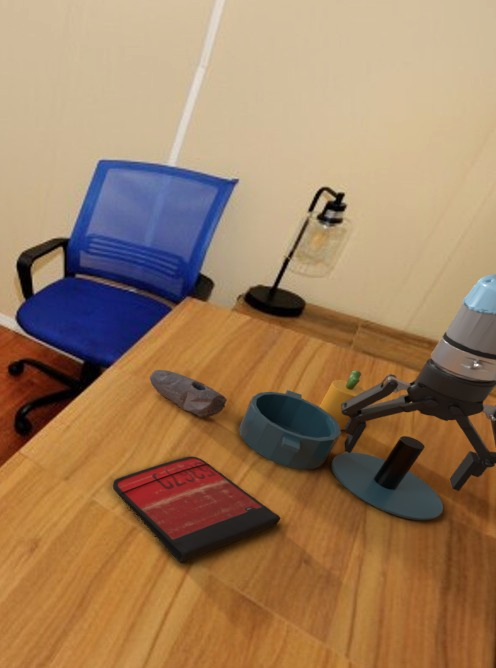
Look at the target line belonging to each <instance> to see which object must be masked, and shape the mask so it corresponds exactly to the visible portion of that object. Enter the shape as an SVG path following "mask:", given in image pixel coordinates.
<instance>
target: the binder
mask: <svg viewBox="0 0 496 668" xmlns="http://www.w3.org/2000/svg"><path fill="white" fill-rule="evenodd" d="M112 488H113V490H114V491H115V493H116V494H117V495H118V496H119V498H121V499H122V500H123V501H124V503H125V504H126V505H127V506H128V507H129V508H130V509H131V510H132V512H133V513H135V514H136V515H137V517H138V518H139V519H140V520H141V521H142V523H143V524H145V525H146V527H148V529H149V530H150V531H151V532H152V533H153V535H154V536H155V537H156V538H157V539H158V540H159V541H160V543H162V545H163V546H164V547H165V548H166V549H167V550H168V552H169V553H171V555H172V556H173V557H174V558H175V559H176V560H177V561H178V562H179V563H184V562H185V561H188V560H191V559H194V558H196V557H199V556H201V555H204V554H207V553H210V552H211V551H214V550H216V549H219V548H222V547H225V546H227V545H229V544H231V543H234V542H237V541H239V540H242V539H244V538H246V537H249V536H252V535H254V534H257V533H259V532H261V531H264V530H266V529H269V528H271V527H275V526H277V525H278V523H279V522H280V521H281V516H280V515H279V514H277V513H275V512H274V511H273V510H271V509H270V508H268V507H267V506H266V505H264V504H263V503H262V502H260V501H259V500H257V499H256V498H255V497H253V496H252V495H251V494H249V493H248V492H247V491H245V490H244V489H242V488H241V487H240V486H239V485H237V484H236V483H235V482H233V481H232V480H231V479H229V478H228V477H227V476H225V475H224V474H223V473H221V472H220V471H218V470H217V469H216V468H214V467H213V466H211V465H210V464H209V463H208V462H207V461H205V460H203V459H202V458H199V457H196V456H186V457H182V458H178V459H173V460H171V461H167V462H164V463H160V464H158V465H154V466H151V467H148V468H145V469H141V470H138V471H134V472H132V473H129V474H126V475H123V476H121V477H118V478H116V479H115V480H114V481H113V483H112Z"/></svg>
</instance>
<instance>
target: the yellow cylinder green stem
mask: <svg viewBox="0 0 496 668" xmlns="http://www.w3.org/2000/svg"><path fill="white" fill-rule="evenodd" d="M361 376H362V373H361V372H360V371H359V370H352V371H351V372H350V375H349V377H348V379H347V380H344V379H335V380H333V381H332V382H331V384H330V386H329V387H328V389H327V391H326V393H325V395H324V397H323V399H322V401H321V402H320V404H319V405H318V406H319V407H320V408H322V409H323V410H324V411H326V412H327V413H328V414H330V415H331V416H332V417H333V418H334V419H335V420H336V421H337V423H338V424H339V425H340V431H345V426H346V424H347V422H348V420H349V419H350V417H349V416H346V415H343V414H342V412H341V404H342V403H344V402H346V401H347V400H349V399H351V398H353V397H355V396H357V395H359V394H361V393H363V392H365V391H366V389H364V388H363V387H361V386H360V385H358V384H359V383H360V378H361Z"/></svg>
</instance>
